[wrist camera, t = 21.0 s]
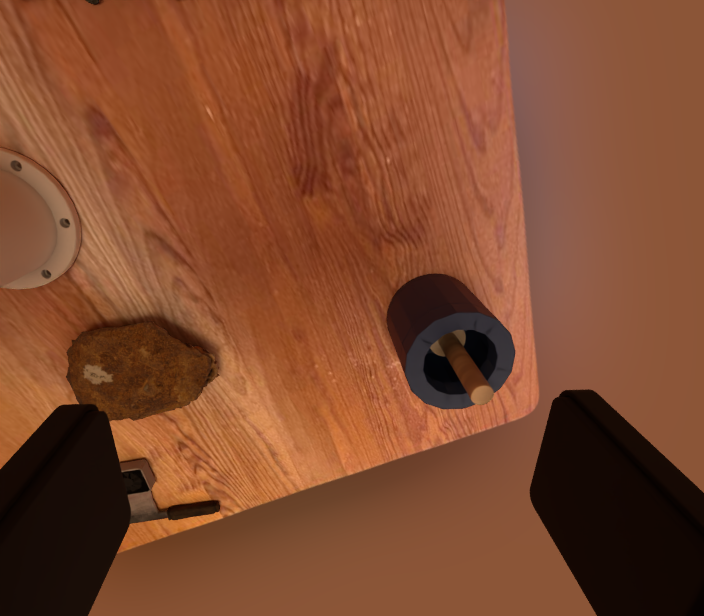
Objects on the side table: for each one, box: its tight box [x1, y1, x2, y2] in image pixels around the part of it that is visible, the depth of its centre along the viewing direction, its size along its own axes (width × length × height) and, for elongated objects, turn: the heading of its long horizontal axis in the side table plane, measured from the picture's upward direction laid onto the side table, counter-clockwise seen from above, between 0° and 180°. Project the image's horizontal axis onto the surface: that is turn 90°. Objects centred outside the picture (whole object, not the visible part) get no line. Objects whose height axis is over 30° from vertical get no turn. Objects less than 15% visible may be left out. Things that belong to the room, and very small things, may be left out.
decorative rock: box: [66, 322, 219, 421], centre depth 43 cm, size 11×4×15 cm
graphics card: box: [120, 459, 155, 496], centre depth 49 cm, size 12×3×5 cm
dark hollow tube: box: [387, 274, 515, 409], centre depth 41 cm, size 10×10×10 cm
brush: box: [430, 330, 494, 405], centre depth 38 cm, size 4×4×14 cm
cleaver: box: [128, 491, 220, 524], centre depth 52 cm, size 16×1×5 cm
